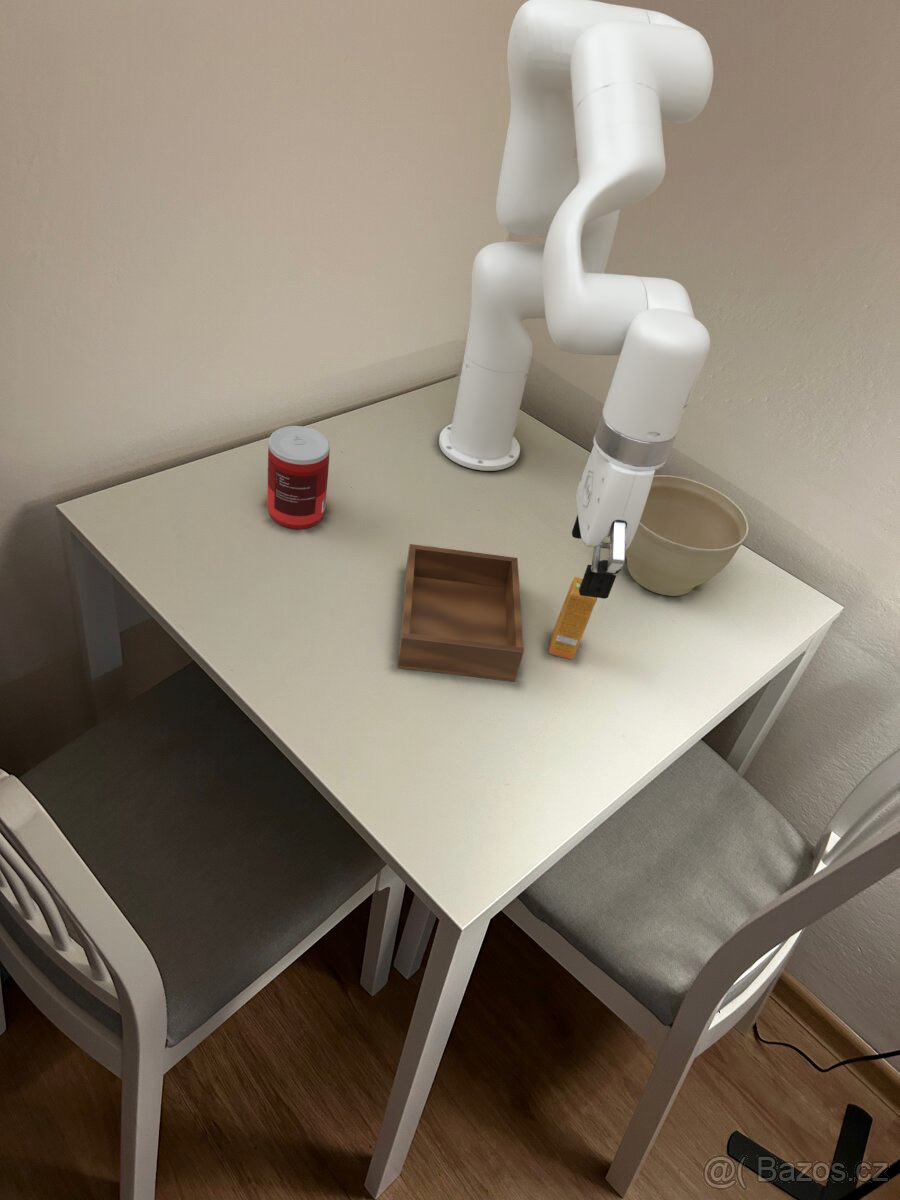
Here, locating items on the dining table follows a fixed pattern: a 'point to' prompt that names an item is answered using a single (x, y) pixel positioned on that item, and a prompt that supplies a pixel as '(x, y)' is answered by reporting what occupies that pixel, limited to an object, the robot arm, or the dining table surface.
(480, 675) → the wooden tray
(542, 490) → the dining table surface
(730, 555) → the planter bowl
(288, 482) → the canned food
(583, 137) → the robot arm
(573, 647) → the supplement box
